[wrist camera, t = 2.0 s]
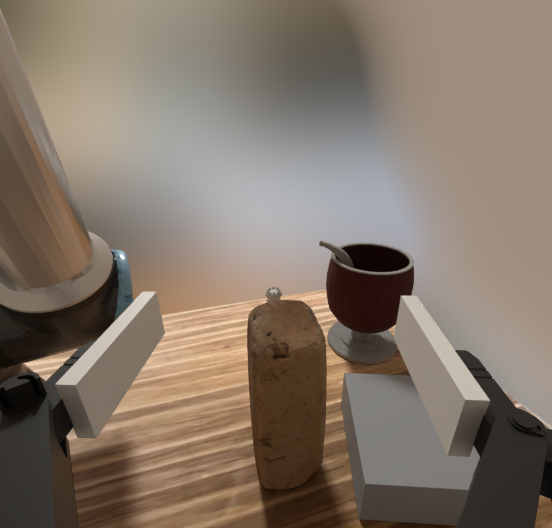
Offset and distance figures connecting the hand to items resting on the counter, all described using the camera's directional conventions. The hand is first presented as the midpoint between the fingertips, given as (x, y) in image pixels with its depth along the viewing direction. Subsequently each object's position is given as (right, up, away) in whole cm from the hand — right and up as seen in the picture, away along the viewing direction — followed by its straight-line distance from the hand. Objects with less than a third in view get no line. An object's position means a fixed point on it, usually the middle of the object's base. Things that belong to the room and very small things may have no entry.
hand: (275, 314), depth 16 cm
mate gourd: (+15, -12, +40) cm, 44 cm away
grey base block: (+16, -20, +20) cm, 33 cm away
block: (+1, -20, +21) cm, 30 cm away
